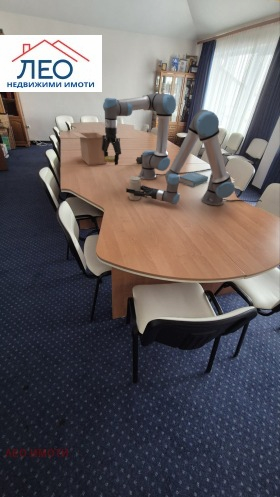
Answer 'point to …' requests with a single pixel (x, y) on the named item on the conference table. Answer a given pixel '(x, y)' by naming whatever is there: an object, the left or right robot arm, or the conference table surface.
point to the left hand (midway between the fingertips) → (111, 163)
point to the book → (193, 179)
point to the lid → (110, 158)
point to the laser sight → (139, 159)
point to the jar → (134, 187)
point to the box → (91, 146)
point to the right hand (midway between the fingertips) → (129, 188)
